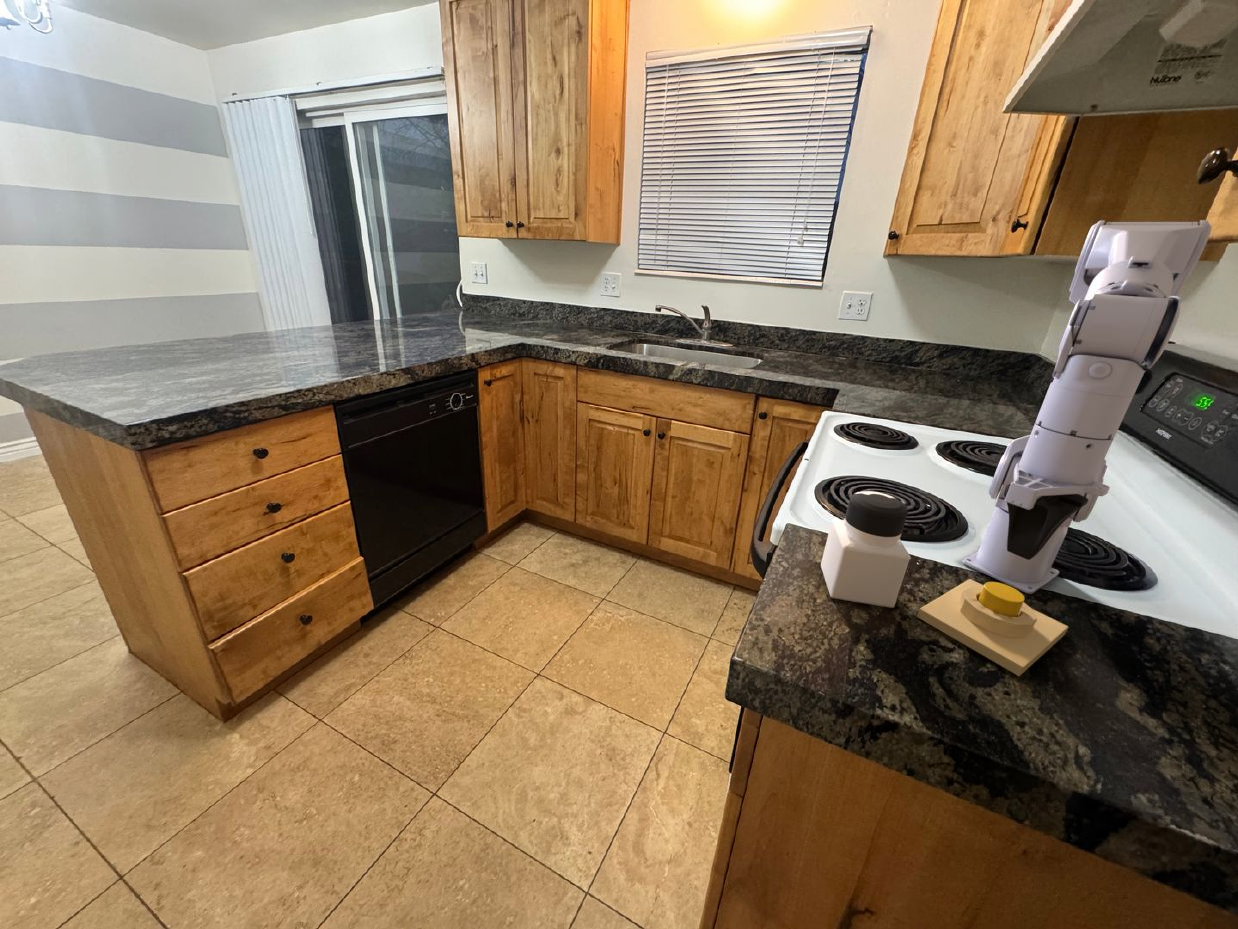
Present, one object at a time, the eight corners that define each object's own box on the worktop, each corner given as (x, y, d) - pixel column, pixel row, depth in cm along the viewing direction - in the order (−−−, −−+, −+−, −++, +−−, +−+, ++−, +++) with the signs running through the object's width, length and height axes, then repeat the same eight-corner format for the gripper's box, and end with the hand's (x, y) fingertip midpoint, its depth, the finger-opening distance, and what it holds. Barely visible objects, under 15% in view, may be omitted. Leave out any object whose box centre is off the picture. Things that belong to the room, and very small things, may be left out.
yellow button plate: (966, 586, 62) (974, 566, 61) (1064, 635, 55) (1075, 613, 53) (916, 617, 56) (924, 595, 55) (1019, 677, 48) (1030, 653, 47)
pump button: (986, 593, 57) (993, 578, 56) (1023, 611, 54) (1030, 595, 53) (972, 602, 55) (978, 587, 54) (1009, 622, 52) (1016, 606, 51)
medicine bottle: (894, 609, 57) (925, 517, 52) (829, 599, 58) (854, 508, 54) (877, 574, 63) (903, 490, 59) (819, 565, 65) (840, 482, 60)
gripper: (1102, 455, 40) (1038, 595, 45) (1152, 432, 47) (1093, 554, 52) (1002, 429, 45) (955, 557, 50) (1062, 413, 53) (1015, 525, 58)
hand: (1020, 553), depth 52 cm, fingers closed
